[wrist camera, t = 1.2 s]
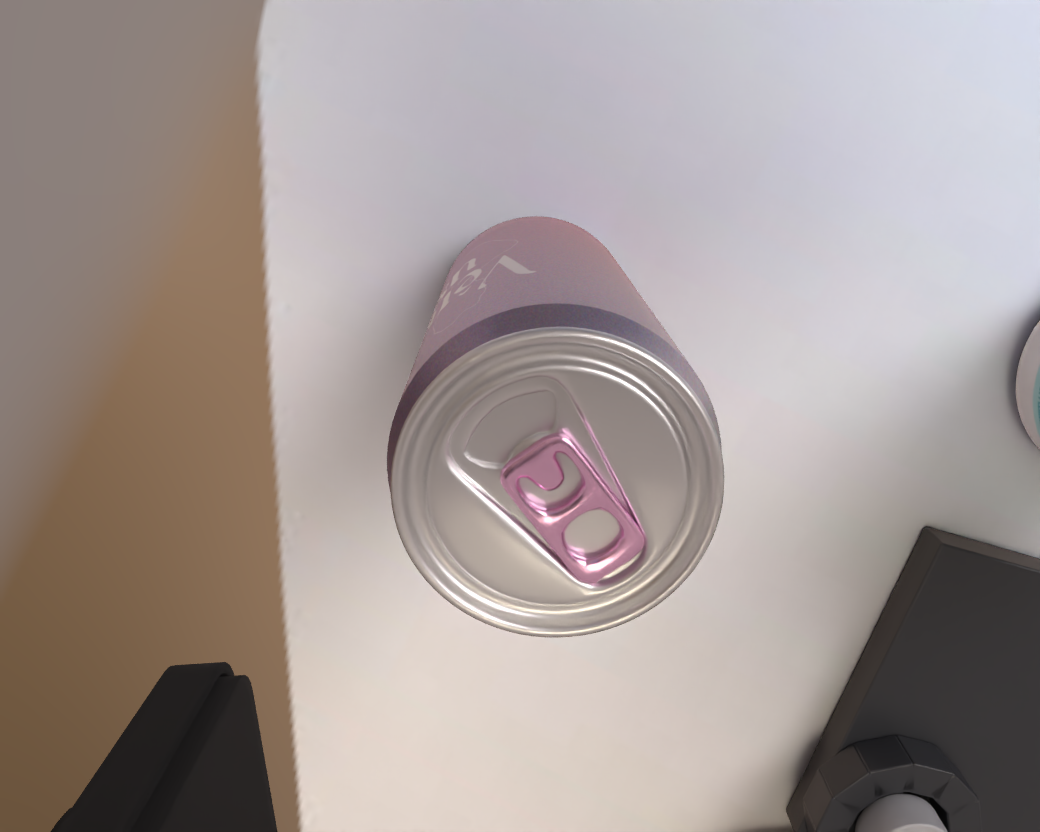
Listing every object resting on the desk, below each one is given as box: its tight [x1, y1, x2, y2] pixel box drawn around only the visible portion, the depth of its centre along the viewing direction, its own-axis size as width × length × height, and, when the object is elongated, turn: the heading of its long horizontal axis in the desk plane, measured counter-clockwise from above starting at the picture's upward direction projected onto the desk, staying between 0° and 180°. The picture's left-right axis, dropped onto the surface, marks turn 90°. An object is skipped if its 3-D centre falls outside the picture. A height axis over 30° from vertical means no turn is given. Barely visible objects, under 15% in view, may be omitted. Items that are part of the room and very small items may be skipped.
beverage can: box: [387, 216, 724, 637], centre depth 22 cm, size 6×6×15 cm
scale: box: [787, 527, 1040, 832], centre depth 33 cm, size 14×12×3 cm
